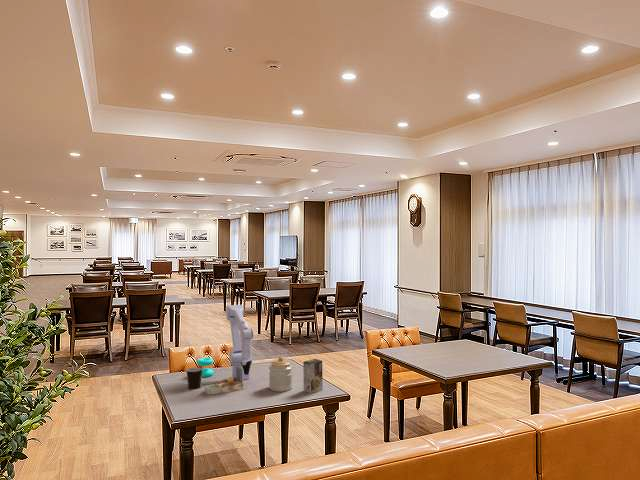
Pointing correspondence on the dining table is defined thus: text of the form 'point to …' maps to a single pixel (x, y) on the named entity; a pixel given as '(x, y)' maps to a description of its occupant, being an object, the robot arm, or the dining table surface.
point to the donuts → (205, 362)
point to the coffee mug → (194, 377)
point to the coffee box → (312, 375)
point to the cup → (212, 389)
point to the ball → (230, 379)
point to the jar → (280, 375)
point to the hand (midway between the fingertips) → (246, 374)
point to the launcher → (229, 385)
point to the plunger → (238, 374)
